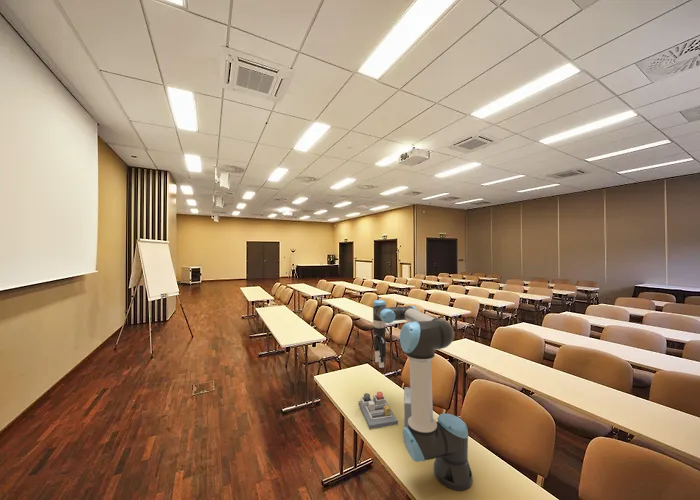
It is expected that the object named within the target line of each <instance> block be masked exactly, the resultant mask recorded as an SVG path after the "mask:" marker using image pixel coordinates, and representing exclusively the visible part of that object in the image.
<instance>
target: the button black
mask: <svg viewBox="0 0 700 500" xmlns="http://www.w3.org/2000/svg"><path fill="white" fill-rule="evenodd" d="M370 396H371V394H370V393H364V394H363V397H364V401H365V402H367V401H370Z"/></svg>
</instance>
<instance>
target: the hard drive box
mask: <svg viewBox="0 0 700 500" xmlns="http://www.w3.org/2000/svg"><path fill="white" fill-rule="evenodd" d="M403 389H404V390H403V392H404V393H403V429H404V428H405V427H408V419H409V417H411V390H410V386H409V387H407V386H404V388H403Z"/></svg>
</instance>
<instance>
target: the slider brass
mask: <svg viewBox="0 0 700 500" xmlns="http://www.w3.org/2000/svg"><path fill="white" fill-rule="evenodd" d="M390 409H391V407H390V406H383V413H384V415H385V417H386V416H390Z"/></svg>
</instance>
